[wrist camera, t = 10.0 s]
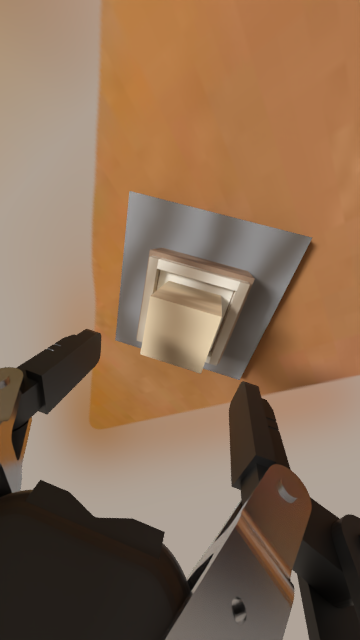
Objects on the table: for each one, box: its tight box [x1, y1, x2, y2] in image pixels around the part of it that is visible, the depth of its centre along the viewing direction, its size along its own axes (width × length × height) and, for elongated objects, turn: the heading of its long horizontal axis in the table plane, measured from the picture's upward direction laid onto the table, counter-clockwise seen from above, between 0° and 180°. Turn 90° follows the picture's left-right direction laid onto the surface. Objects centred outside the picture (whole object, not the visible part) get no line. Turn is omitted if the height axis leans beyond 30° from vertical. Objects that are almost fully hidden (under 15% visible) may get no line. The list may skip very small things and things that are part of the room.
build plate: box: [116, 191, 312, 380], centre depth 20 cm, size 18×18×6 cm
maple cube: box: [140, 281, 222, 374], centre depth 16 cm, size 5×5×5 cm
